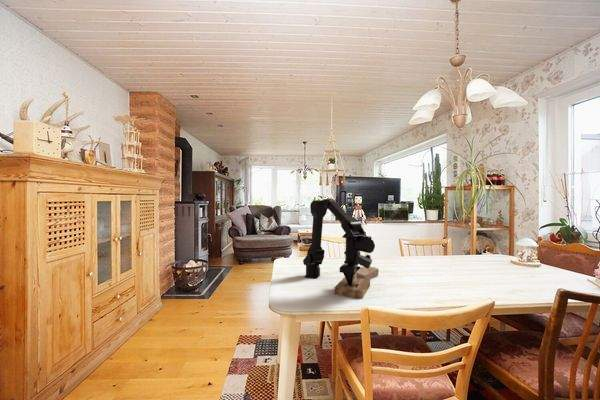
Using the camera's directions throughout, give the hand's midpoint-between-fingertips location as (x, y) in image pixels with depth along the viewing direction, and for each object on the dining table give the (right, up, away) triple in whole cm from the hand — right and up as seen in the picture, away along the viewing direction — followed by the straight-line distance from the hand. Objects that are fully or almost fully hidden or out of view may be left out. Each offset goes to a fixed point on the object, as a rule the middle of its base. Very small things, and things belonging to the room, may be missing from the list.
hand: (351, 284), depth 125 cm
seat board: (+1, -3, +3) cm, 4 cm away
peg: (0, -2, 0) cm, 2 cm away
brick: (+11, -4, +22) cm, 25 cm away
